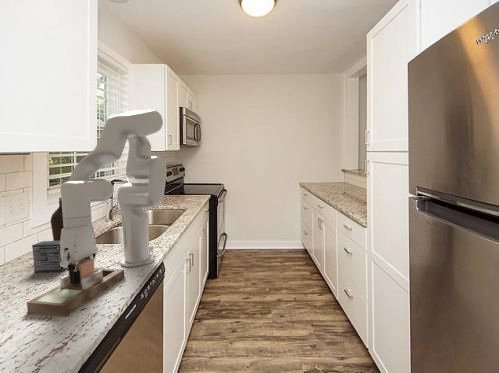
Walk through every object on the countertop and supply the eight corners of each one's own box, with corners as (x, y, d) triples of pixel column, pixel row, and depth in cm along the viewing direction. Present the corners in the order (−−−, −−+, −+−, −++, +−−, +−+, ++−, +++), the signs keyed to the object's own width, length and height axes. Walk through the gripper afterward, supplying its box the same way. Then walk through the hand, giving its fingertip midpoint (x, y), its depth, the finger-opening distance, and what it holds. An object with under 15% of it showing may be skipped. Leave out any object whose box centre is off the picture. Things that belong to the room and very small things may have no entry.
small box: (72, 265, 121) (70, 239, 120) (62, 271, 114) (60, 244, 113) (44, 266, 120) (42, 240, 119) (33, 272, 114) (31, 245, 113)
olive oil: (77, 255, 133) (73, 198, 131) (49, 258, 130) (44, 199, 128) (83, 248, 143) (79, 195, 141) (58, 251, 141) (53, 196, 138)
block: (81, 276, 98) (79, 258, 98) (95, 277, 97) (93, 259, 97) (69, 283, 93) (67, 264, 93) (83, 284, 92) (81, 264, 92)
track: (94, 276, 109) (93, 259, 108) (124, 278, 107) (123, 261, 106) (27, 312, 84) (25, 291, 83) (65, 316, 81) (63, 294, 81)
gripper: (87, 216, 103) (91, 269, 104) (43, 228, 86) (49, 290, 88) (107, 216, 101) (110, 270, 103) (66, 228, 84) (71, 292, 86)
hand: (82, 279), depth 95 cm, fingers closed on block, 5 cm apart
